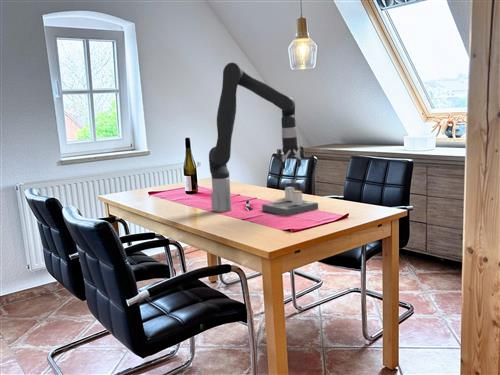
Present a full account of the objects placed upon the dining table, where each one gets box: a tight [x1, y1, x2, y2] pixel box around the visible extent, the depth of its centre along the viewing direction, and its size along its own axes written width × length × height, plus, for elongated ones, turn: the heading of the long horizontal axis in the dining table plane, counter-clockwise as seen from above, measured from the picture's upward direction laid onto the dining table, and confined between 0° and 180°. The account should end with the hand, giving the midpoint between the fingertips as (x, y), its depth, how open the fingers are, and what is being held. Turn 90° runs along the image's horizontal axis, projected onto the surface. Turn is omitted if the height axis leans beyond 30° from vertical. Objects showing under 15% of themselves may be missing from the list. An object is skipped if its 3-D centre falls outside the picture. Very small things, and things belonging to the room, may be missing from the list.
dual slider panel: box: [261, 199, 319, 217], centre depth 246 cm, size 21×19×3 cm
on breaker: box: [284, 187, 294, 201], centre depth 252 cm, size 3×4×7 cm
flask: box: [284, 179, 301, 191], centre depth 275 cm, size 9×3×11 cm, turn 65°
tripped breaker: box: [292, 190, 303, 205], centre depth 240 cm, size 3×4×7 cm
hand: (291, 167), depth 248 cm, fingers open, 8 cm apart
